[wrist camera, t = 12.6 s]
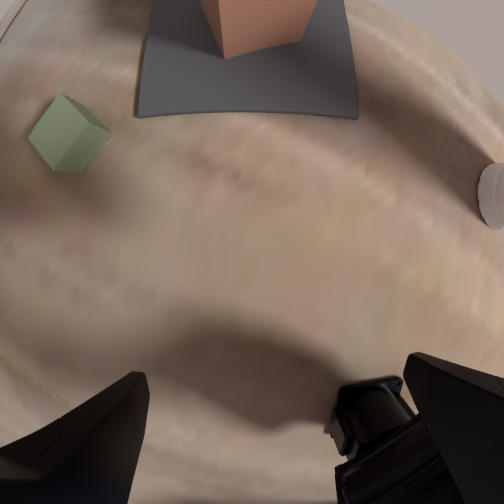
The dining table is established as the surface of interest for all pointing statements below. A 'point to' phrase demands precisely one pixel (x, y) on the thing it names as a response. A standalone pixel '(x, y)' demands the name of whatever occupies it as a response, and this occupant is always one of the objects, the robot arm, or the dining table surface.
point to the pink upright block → (256, 23)
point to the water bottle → (492, 195)
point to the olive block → (68, 136)
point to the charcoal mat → (246, 67)
